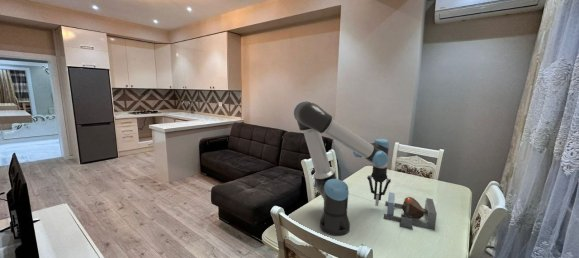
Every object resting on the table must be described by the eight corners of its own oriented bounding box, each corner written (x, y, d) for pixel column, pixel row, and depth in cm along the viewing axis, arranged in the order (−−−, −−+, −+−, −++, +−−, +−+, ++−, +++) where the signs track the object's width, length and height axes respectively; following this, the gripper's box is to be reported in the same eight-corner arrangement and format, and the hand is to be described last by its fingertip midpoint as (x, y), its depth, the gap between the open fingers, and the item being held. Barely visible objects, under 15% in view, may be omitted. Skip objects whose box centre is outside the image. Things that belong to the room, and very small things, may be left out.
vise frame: (435, 235, 113) (437, 218, 112) (382, 222, 124) (384, 207, 122) (430, 213, 133) (432, 199, 132) (385, 204, 143) (386, 190, 142)
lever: (410, 222, 118) (412, 199, 116) (403, 220, 120) (405, 198, 118) (409, 218, 121) (412, 197, 119) (403, 217, 122) (405, 195, 120)
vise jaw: (393, 219, 127) (394, 203, 126) (386, 217, 128) (387, 202, 127) (393, 207, 140) (395, 193, 138) (387, 206, 141) (389, 192, 139)
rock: (430, 214, 123) (418, 207, 120) (415, 227, 126) (404, 220, 122) (415, 199, 134) (404, 191, 131) (402, 210, 137) (391, 203, 134)
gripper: (392, 165, 133) (389, 204, 137) (368, 162, 139) (366, 199, 143) (392, 170, 127) (388, 210, 131) (367, 166, 132) (364, 205, 136)
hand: (376, 204), depth 137 cm, fingers closed
